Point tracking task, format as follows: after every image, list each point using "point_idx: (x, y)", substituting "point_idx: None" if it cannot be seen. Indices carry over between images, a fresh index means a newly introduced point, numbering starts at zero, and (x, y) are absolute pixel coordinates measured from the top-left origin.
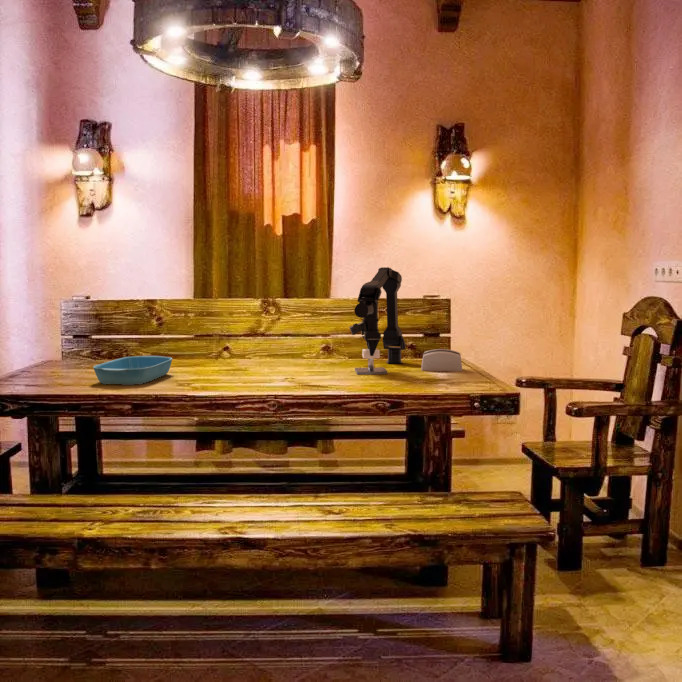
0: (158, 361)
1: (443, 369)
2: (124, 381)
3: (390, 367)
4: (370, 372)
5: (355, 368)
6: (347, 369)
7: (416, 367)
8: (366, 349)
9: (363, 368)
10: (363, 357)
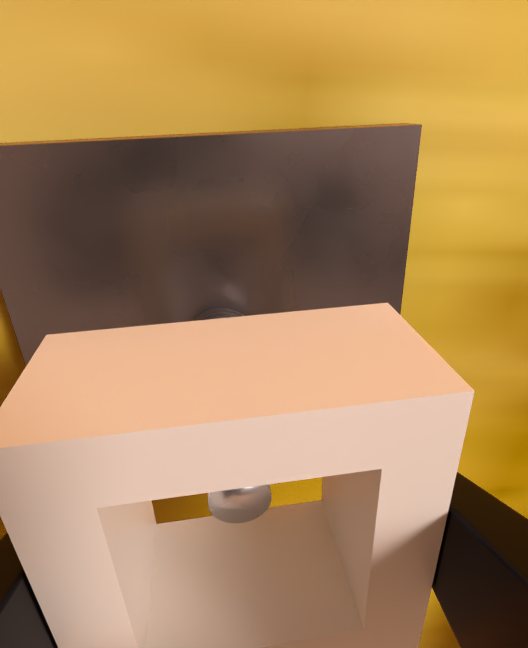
0: None
1: None
2: None
3: (505, 478)
4: (21, 334)
5: (352, 132)
6: (514, 3)
7: (446, 618)
8: (377, 487)
9: (337, 249)
10: (97, 336)
